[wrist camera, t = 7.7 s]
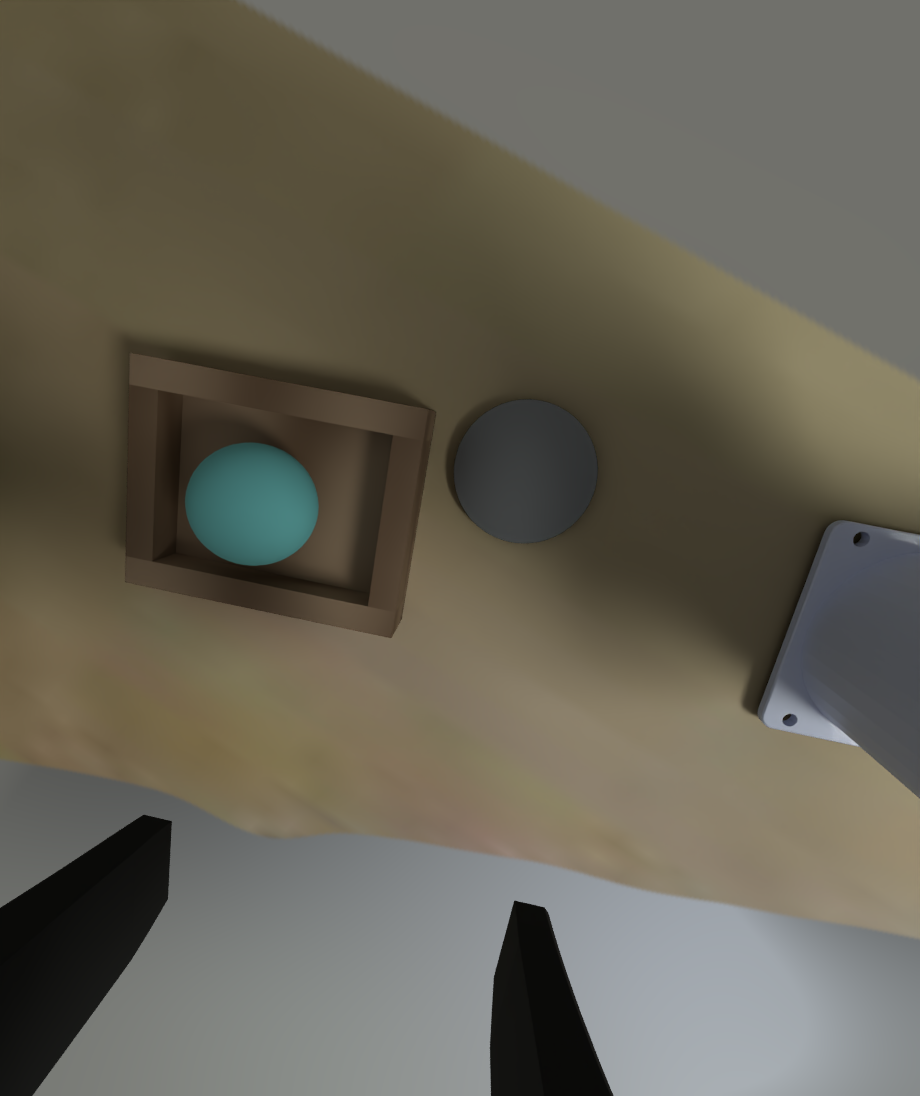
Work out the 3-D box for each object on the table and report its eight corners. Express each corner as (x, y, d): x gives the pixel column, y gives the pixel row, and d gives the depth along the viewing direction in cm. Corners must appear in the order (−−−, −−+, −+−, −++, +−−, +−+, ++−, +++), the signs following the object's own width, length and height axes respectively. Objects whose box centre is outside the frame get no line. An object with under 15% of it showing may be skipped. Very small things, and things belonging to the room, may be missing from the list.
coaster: (611, 414, 17) (613, 414, 16) (576, 553, 18) (578, 555, 17) (469, 388, 17) (468, 387, 16) (443, 526, 18) (442, 528, 18)
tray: (436, 412, 17) (428, 409, 15) (401, 619, 19) (391, 638, 17) (167, 361, 18) (129, 352, 16) (159, 569, 19) (125, 582, 18)
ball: (344, 453, 17) (285, 458, 13) (331, 561, 18) (272, 594, 14) (240, 432, 18) (155, 430, 14) (233, 537, 18) (151, 563, 15)
